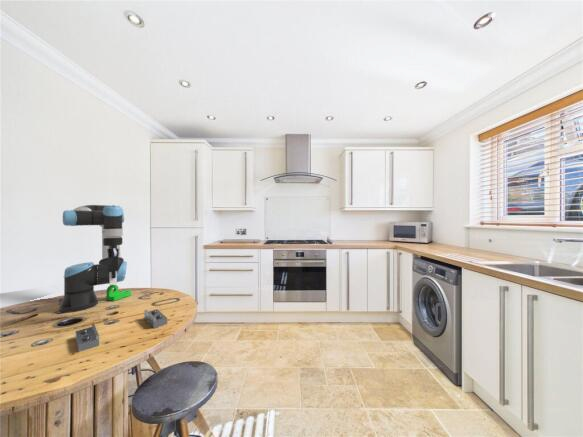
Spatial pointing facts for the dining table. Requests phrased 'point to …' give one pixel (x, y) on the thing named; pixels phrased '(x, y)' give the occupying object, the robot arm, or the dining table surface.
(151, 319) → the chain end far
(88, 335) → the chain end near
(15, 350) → the dining table surface
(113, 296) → the mechanical part
